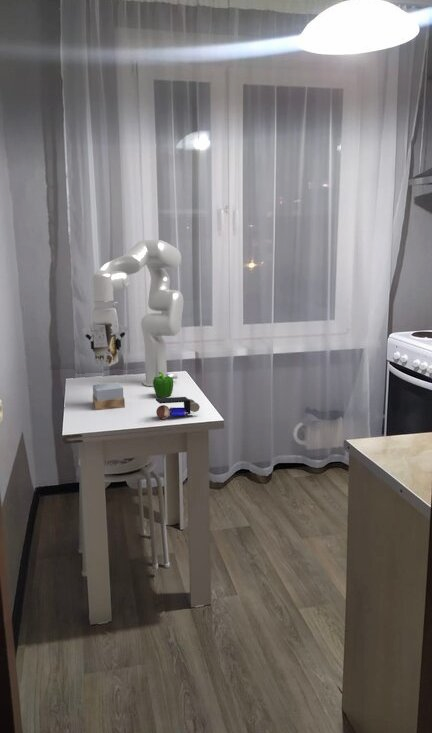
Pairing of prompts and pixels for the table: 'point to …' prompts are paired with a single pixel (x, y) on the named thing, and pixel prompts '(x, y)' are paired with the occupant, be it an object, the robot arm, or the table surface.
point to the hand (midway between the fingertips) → (106, 350)
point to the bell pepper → (163, 385)
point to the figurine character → (165, 411)
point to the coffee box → (104, 345)
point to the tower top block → (107, 391)
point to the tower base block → (108, 403)
